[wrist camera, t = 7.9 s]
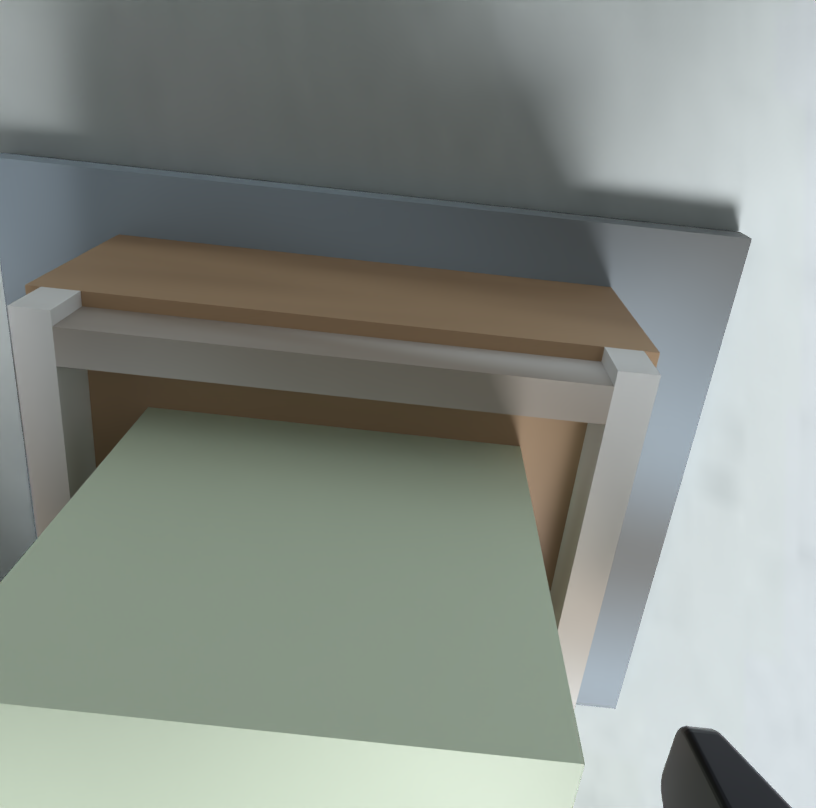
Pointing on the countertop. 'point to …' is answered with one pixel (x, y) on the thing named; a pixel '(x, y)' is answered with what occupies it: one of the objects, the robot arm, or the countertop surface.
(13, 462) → the countertop surface
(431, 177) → the countertop surface
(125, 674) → the sage block
